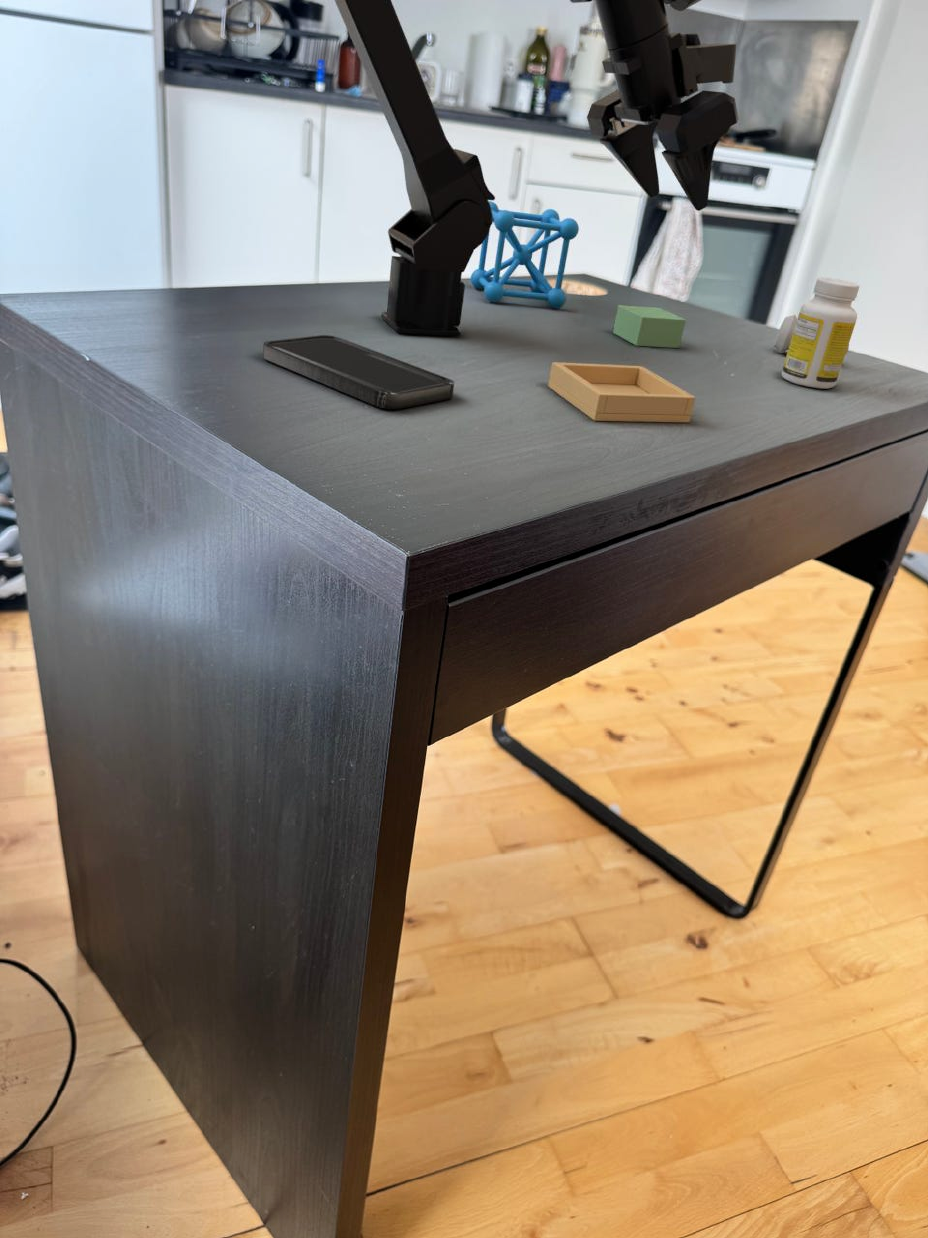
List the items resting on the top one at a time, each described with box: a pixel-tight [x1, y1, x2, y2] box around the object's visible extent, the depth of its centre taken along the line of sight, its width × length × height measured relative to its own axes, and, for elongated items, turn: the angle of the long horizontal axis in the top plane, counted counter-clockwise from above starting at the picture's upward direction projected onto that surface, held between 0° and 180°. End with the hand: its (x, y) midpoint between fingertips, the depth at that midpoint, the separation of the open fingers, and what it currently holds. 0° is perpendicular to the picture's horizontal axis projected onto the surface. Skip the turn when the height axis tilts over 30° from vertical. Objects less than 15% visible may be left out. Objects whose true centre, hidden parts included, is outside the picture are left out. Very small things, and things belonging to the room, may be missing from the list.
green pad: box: [612, 304, 687, 349], centre depth 100 cm, size 5×5×3 cm
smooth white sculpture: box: [773, 314, 850, 356], centre depth 103 cm, size 4×8×5 cm
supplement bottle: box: [781, 276, 860, 390], centre depth 91 cm, size 5×5×10 cm
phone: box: [262, 334, 455, 410], centre depth 73 cm, size 8×1×15 cm
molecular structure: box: [470, 200, 580, 309], centre depth 109 cm, size 10×10×10 cm
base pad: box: [547, 361, 696, 423], centre depth 76 cm, size 9×9×2 cm
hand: (677, 201), depth 94 cm, fingers open, 9 cm apart
